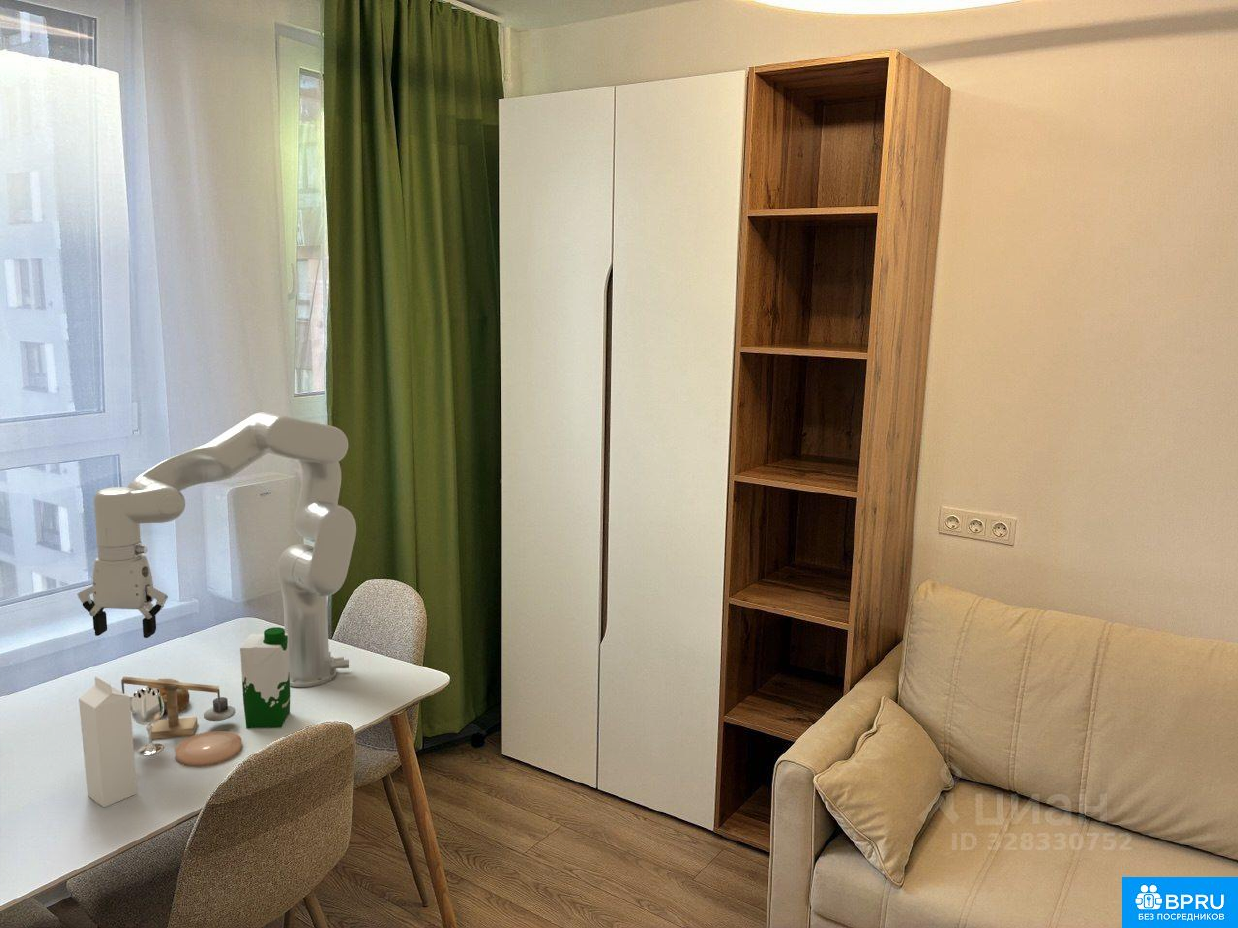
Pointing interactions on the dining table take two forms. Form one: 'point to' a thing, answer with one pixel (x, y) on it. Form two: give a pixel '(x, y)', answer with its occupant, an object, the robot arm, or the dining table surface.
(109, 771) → the milk
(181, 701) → the bread roll
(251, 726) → the milk carton
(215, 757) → the dish
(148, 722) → the wineglass
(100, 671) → the dining table surface
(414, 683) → the dining table surface
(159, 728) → the balance
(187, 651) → the dining table surface
